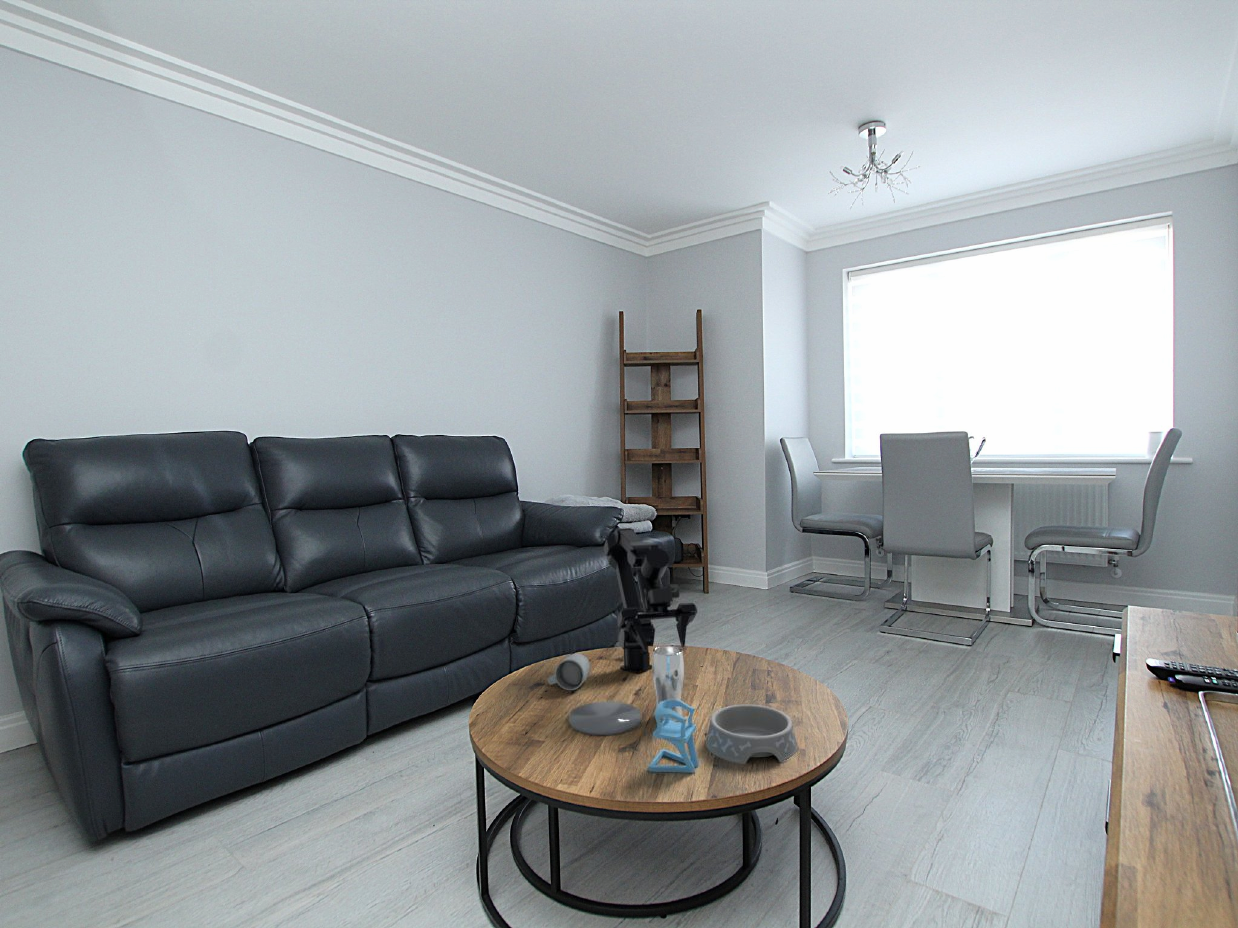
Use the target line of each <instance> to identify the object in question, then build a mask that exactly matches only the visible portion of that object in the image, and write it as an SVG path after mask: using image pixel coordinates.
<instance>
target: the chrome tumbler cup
mask: <svg viewBox="0 0 1238 928" xmlns="http://www.w3.org/2000/svg"><path fill="white" fill-rule="evenodd" d="M683 653H684V652H683V648H682V647H678V646H676V645H675V646H674V645H662V646H657V647H655V648H653V650H652V662H651V665H652V668H651V669H652V672H651V673H652V680H653V685H654V686H653V687H654V692H655V697H656V707H657V706H658V704H659V703H660V702H662V701H665V700H678V701H682V700H681V699H682V691H683V685H684V678H685V677H684V675H685V674H684V673H685V666H684V665H685V664H684V656H683V655H684V654H683ZM669 709H670V710H673V711H675V712H676V713H678V714H679V715H680V716H682V717H683V715H684V714H683V708H682V707H679V706H675V707H672V708H669ZM659 720H660V722H661V723H662V722H663V721H664V720H665V718H661V719H659ZM669 721H674V722H678V721H677V720H676V719H673V718H669Z"/></svg>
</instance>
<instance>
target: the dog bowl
mask: <svg viewBox="0 0 1238 928" xmlns="http://www.w3.org/2000/svg"><path fill="white" fill-rule="evenodd" d="M795 733H796V732H795V729H794V725H793V722H792V720H791V718H790V717H789V716H788V715H787V714H785V712H783V711H780V710H778V709H776V708H773V707H769V706H765V705H759V704H734V705H729V706H725V707H723V708H719V709H718V710H716V711H715V712H713V714H712V715H711V716H710V720H709V725H708V730H707V735H706V738H705V746H706V749H707V750H708V751H709V752H710V753H711V754H713V755H714V756H715V757H718V758H720V759H723V760H724V761H728V762H730V763H731V762H732V763H734V764H740V765H746V764H747V762H748V760H749V759H750V758H765V757H770V756H774V757H776V759H778V763H780V762H781V763H783V762H782V761H784V760H787V759H789V758H790V757H792V756H793V755H794V754H795V753H796V752H797V753H798V751H797V749H798V750H799V745H798V741H797V738H796V734H795ZM797 753H796V754H797ZM796 754H795V755H796ZM795 755H794V756H795ZM794 756H793V757H794ZM793 757H792V758H793ZM790 759H791V758H790ZM790 759H789V760H790ZM787 761H788V760H787ZM784 762H785V761H784Z"/></svg>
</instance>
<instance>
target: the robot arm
mask: <svg viewBox="0 0 1238 928" xmlns="http://www.w3.org/2000/svg"><path fill="white" fill-rule="evenodd" d="M603 554H604V556H605V557H606V559H607V564H608V565H609V566H610V567H611V568H612V569H614V570H615V573H616V578H617V582H618V587H619V592H620V596H621V602H622V606H623V607H622V608H621V609H620V611H619V613H618V616H617V626H618V629H619V634H618V636H617V639H618V646H620V647H621V649H623V665H621V666H619V667H620V669H621V670H624V671H628V672H632V673H635V674H640V673H642V672H645V671H647V670H649V669H652V664H650V663H651V660H650V659H651V658H650V657H651V656H650V652H649V650H650V649H649V647H654V643H655V636H656V635H655V632H656V628H655V627H654V624H653V623H652V621H651V620H661V619H662V620H663V619H673V618H675V621H676V625H675V627H676V631H677V634H678V640H679V643H680V645H681V649H683V648H685V647H686V637H687V636H686V635H687V627H688V626H689V624H690V623H692V622H693V621H694V619H695V618H696V616H697V614H698V612H699V611H698V608H697V605H696V604H695V603H694V602H683V603H679V604H678V605H677V607H676V608H674V609H668V608H670V607H671V605H672V604H671V602H674V599H678V598H679V597H680V589H679V586H678V584H677V583H676V584H669V585H668V587H665V586H663V584H662V583H663V582H662V580H661V578H662V577H664V574H665V571H666V569H667V567H668V565H669V563H670V556H669V554H668V553H667V552H666V551H665V550H664V549H661V548H659V544H654V543H653V542H648V541H643V540H642V539H641V537H639V536H638V535H637V534H636V532H635V529H634V528H632V527H624V528H621V527H620V528H618V529H615V530H614V533H612V535H610V536H609V537H607V538H606V539H605V543H604V545H603ZM633 568H634V569H635V568H639V569H638V571H637V572H636V574H635V575H636V579H635V577H634V573H633V572H634V571H633ZM636 582H637V583H638V588H639V593H640V598H639V594H638V589H637V586H636ZM641 604H642V606H641ZM642 607H643V608H642Z"/></svg>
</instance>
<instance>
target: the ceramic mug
mask: <svg viewBox="0 0 1238 928" xmlns="http://www.w3.org/2000/svg"><path fill="white" fill-rule="evenodd" d="M590 673H591V663H590V661H589V659H588V658H587V657H586V656H585V655H583V654H581V653H573V654H570V655H568V656H567V657H565V658H564V659H563V660H561V661H560V662H559V663H558V664H557V665H556V667H555V670H554V673H553V674H552V675H551V676H549V677H548V678H547V682H548V685H549V686H551V685H552V686H553V685H555V684H557V685H558V686H560V688H562V689H563V690H566V691H575V690H577V689H579V688H580V687H581V686H582V685H583V683H584V682H585V680H587V679H588V677H589V676H590Z"/></svg>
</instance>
